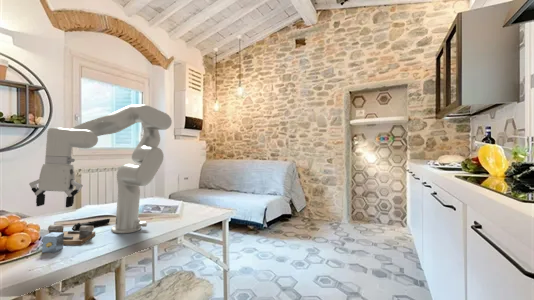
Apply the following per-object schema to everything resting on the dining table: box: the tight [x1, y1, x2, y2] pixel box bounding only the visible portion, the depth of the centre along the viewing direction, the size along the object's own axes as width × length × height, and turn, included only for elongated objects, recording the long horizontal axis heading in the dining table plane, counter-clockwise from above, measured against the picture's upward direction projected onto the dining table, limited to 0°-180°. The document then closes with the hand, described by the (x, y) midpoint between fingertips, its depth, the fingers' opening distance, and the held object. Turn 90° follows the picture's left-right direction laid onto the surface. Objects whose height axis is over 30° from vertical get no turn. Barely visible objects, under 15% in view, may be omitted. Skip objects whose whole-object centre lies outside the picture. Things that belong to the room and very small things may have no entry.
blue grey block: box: [41, 232, 64, 254], centre depth 95 cm, size 6×4×6 cm
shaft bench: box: [41, 224, 96, 246], centre depth 106 cm, size 16×11×6 cm
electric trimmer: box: [71, 218, 111, 231], centre depth 123 cm, size 4×16×3 cm, turn 145°
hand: (54, 206), depth 96 cm, fingers open, 9 cm apart
